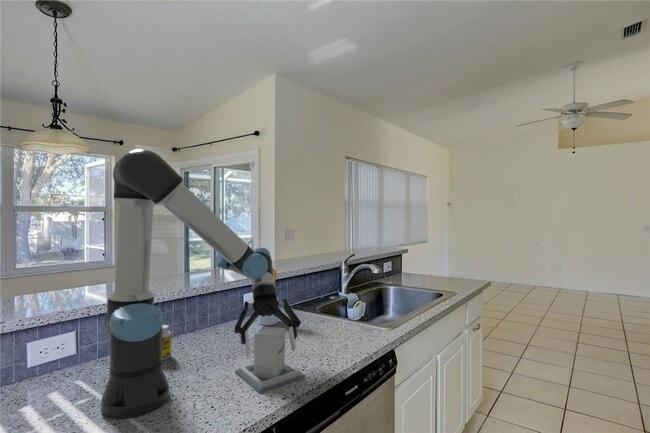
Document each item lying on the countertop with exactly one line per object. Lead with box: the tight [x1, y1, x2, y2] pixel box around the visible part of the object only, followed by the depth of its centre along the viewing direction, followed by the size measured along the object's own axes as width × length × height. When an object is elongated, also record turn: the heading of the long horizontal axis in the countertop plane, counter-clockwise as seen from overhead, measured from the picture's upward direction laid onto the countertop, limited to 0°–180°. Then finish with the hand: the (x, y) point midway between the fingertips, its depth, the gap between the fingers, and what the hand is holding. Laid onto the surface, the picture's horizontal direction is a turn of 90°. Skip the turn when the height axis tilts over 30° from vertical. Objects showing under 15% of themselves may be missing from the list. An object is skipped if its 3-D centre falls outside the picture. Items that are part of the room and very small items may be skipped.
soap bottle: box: [257, 268, 280, 326], centre depth 152 cm, size 9×9×25 cm
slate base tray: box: [234, 360, 306, 394], centre depth 104 cm, size 15×15×2 cm
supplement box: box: [253, 326, 286, 379], centre depth 104 cm, size 7×7×13 cm
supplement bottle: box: [162, 324, 172, 361], centre depth 115 cm, size 6×6×10 cm
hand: (271, 351), depth 102 cm, fingers open, 13 cm apart
